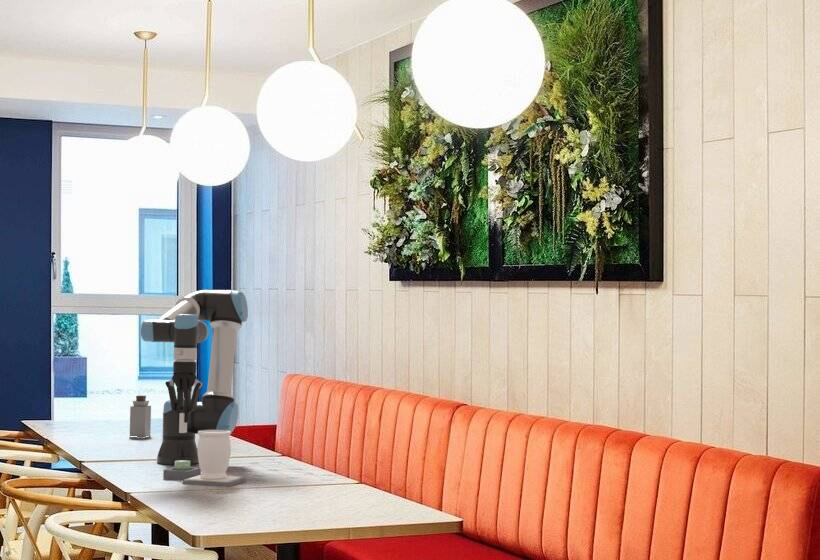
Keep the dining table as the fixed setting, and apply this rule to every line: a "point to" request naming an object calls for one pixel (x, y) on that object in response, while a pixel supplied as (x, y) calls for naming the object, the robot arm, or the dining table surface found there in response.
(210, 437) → the jar
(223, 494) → the dining table surface
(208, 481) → the board
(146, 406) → the perfume bottle
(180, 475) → the button housing
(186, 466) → the button
